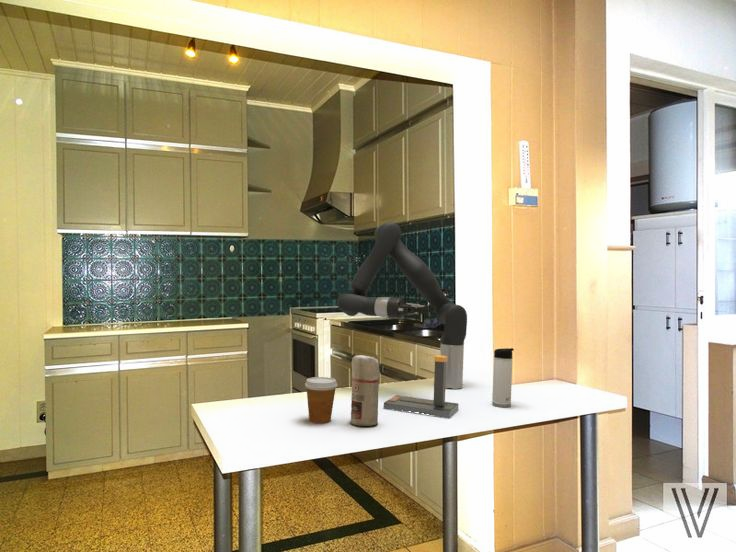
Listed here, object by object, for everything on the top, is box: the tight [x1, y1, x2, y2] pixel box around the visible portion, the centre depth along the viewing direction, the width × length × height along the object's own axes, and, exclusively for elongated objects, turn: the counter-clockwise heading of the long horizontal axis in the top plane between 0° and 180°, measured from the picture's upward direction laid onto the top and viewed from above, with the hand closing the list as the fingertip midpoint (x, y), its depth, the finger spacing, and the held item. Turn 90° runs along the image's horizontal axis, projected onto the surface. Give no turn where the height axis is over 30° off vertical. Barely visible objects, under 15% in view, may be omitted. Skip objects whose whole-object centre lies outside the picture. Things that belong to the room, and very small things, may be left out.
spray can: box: [349, 354, 380, 427], centre depth 144 cm, size 8×8×20 cm
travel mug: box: [491, 347, 514, 409], centre depth 171 cm, size 6×7×20 cm
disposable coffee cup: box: [304, 376, 338, 424], centre depth 146 cm, size 10×10×12 cm
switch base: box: [383, 394, 460, 419], centre depth 163 cm, size 22×12×2 cm, turn 66°
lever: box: [433, 354, 447, 406], centre depth 160 cm, size 3×3×16 cm
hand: (431, 310), depth 175 cm, fingers open, 8 cm apart
